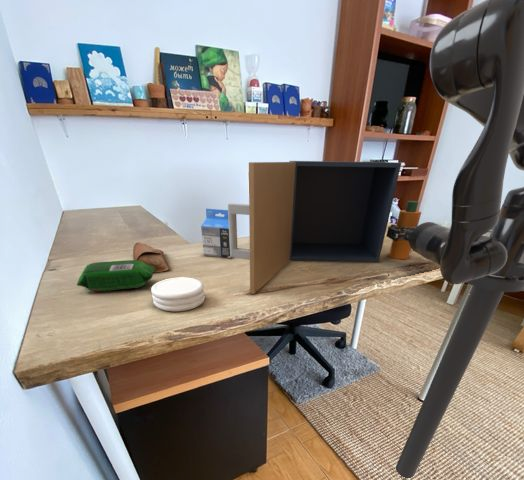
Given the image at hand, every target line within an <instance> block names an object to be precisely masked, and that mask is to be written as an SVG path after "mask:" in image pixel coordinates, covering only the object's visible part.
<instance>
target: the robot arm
mask: <svg viewBox="0 0 524 480" xmlns="http://www.w3.org/2000/svg"><path fill="white" fill-rule="evenodd" d="M429 73H430V78H431V81H432V85H433V86H434V89H435V91H436V93H437V94H438V95H439V96H440V97H441V98H442V99H443V100H444V101H446V102H447V103H449V104H451V105H452V106H454V107H456V108H458V109H460V110H462V111H463V112H464V113H467V114H468V115H469V116H471V117H472V118H473V119H474V120H475V121H476V122H477V123H479V124H480V125H481V126H482V127H483V129H482V131H481V133H480V135H479V137H478V139H477V140H476V142H475V144H474V146H473V147H472V149H471V151H470V152H469V154H468V155H467V158H465V160H464V163H463V164H462V166H461V167H460V170H459V171H458V173H457V176H456V178H455V181H454V183H453V187H452V195H451V224H450V227H449V228H448V227H446V226H443V225H441V224H438V223H435V222H432V221H426V222H423V223H421V224H418V226H417V227H409V226H402V227H398V226H396V225H397V224H395V223H394V224H393V223H392V224H390V226H387V230H386V234H385V237H387V238H388V239H390V240H392V241H393V240H394V241H398V239H399V240H404V241H408V243H409V244H410V247H411V250H412V251H413V252H414V253H416V254H418V255H419V256H421V257H423V258H424V259H426V260H429V261H431V262H432V263H434V264H435V265H437V266H439V271H440V274H441V276H442V279H443V280H444V281H445V282H447V283H448V284H449V285H462V284H464V283H466V282H468V281H471V280H475V279H478V278H482V277H485V276H487V277H491V278H497V279H505V280H512V279H514V278H516V277H519V278H518V280H519V281H521V280H524V277H523V276H524V186H521V187H517V188H513V189H511V190H509V191H508V192H507V194H506V195H505V198H504V201H503V202H502V199H503V198H502V196H503V190H504V189H503V188H504V179H505V172H506V168H507V163H508V158H509V157H510V159H511V161H512V164H513V165H514V166H515V168H516V169H518V170H520V171H524V0H483V1H481V2H480V3H478V4H475V5H473V6H472V7H470V8H468V9H466V10H464V11H463V12H461V13H459V14H458V15H456V16H455V17H453V18H452V19H451V20H450V21H448V22H447V23H446V24H445V25H444V26H443V27H442V28H441V30H440V31H439V32H438V34H437V35H436V37H435V39H434V42H433V44H432V47H431V51H430V55H429ZM398 229H399V230H398ZM406 229H409V230H407V231H406V232H405V230H406ZM489 232H490V234H489V235H485V234H487V233H489Z"/></svg>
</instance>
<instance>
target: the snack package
mask: <svg viewBox="0 0 524 480" xmlns="http://www.w3.org/2000/svg"><path fill="white" fill-rule="evenodd" d="M154 270H158V269H156V268H155V267H154V266H150V265H148V264H146V263H144V262H142V261H137V260H133V259H130V260H128V259H127V260H112V261H96V262H92V263H89V264H87V265H86V266H85V267H84V268H83V271H82V272H81V274H80V275H79V278H78V281H77V283H76V286H78V287H83V288H85V289H87V290H89V291H92V292H106V291H119V290H120V291H121V290H128V289H129V290H130V289H137V288H142V287H144V286H145V285H146V284H147V282H148V281H150V280H151V279H152V278H153V276H154V275H153V274H154V273H152V272H153V271H154Z"/></svg>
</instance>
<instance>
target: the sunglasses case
mask: <svg viewBox="0 0 524 480" xmlns="http://www.w3.org/2000/svg"><path fill="white" fill-rule="evenodd" d="M164 253H165V252H164V251H163V250H161V249H158V248H154V247H152V246H151V245H148V244H146V243H144V242H143V243H142V242H135V243H134V244H133V248H132V258H133V259H132V260H137V261H142V262H144V263H146V264H148V265H150V266H154V267H155V268H156V269H158V270H154V271H153V272H152V274H157V273H162V272H163V273H164V272H167V271H169V270H170V267H169V265H168V263H167V262H166V259H165V255H164Z"/></svg>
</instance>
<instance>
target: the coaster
mask: <svg viewBox="0 0 524 480" xmlns="http://www.w3.org/2000/svg"><path fill="white" fill-rule="evenodd" d="M204 288H205V286H204V284H203V282H202V281H200V280H199V279H197V278H192V277H180V276H179V277H171V278H166V279H163V280H160V281H157V282H155V283H154V284H152V286H151V287H150V292H151V297H152V302H153V305H154V306H155V307H156V308H157V309H160V310H161V311H166V312H184V311H189V310H192V309H196V308H197V307H199V306H201V305H202V304H203V303H204V302H205V299H206V296H205V290H204Z"/></svg>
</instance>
